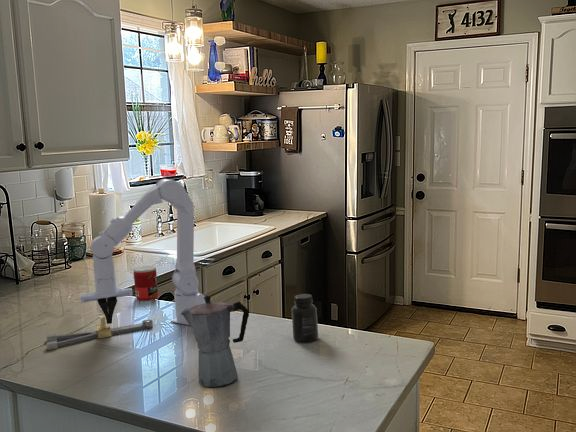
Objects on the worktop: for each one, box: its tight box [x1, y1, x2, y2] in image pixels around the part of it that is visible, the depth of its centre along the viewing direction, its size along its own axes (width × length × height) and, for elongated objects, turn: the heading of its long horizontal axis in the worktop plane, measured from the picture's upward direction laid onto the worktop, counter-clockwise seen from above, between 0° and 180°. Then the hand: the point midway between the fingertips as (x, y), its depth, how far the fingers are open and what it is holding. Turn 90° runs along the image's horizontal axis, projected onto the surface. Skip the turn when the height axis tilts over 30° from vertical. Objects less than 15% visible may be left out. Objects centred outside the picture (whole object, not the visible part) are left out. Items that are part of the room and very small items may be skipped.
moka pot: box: [181, 295, 250, 388], centre depth 130 cm, size 10×15×20 cm, turn 95°
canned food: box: [133, 265, 159, 302], centre depth 205 cm, size 8×8×11 cm
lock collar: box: [95, 314, 112, 339], centre depth 167 cm, size 4×5×5 cm, turn 23°
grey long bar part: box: [46, 318, 154, 351], centre depth 167 cm, size 30×9×2 cm, turn 113°
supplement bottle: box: [291, 293, 319, 344], centre depth 154 cm, size 7×7×12 cm
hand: (109, 322), depth 167 cm, fingers closed
